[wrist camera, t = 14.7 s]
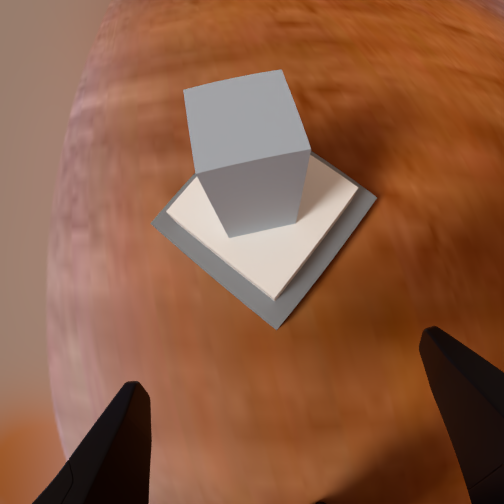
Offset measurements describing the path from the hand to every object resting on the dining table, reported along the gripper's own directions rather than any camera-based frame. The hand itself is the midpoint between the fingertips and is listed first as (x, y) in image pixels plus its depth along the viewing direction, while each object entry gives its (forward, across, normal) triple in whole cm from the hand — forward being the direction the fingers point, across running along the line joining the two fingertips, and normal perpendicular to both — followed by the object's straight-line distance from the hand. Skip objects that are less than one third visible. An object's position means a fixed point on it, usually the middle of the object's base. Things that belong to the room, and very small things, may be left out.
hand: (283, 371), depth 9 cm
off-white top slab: (+15, 0, +2) cm, 15 cm away
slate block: (+13, 0, 0) cm, 13 cm away
